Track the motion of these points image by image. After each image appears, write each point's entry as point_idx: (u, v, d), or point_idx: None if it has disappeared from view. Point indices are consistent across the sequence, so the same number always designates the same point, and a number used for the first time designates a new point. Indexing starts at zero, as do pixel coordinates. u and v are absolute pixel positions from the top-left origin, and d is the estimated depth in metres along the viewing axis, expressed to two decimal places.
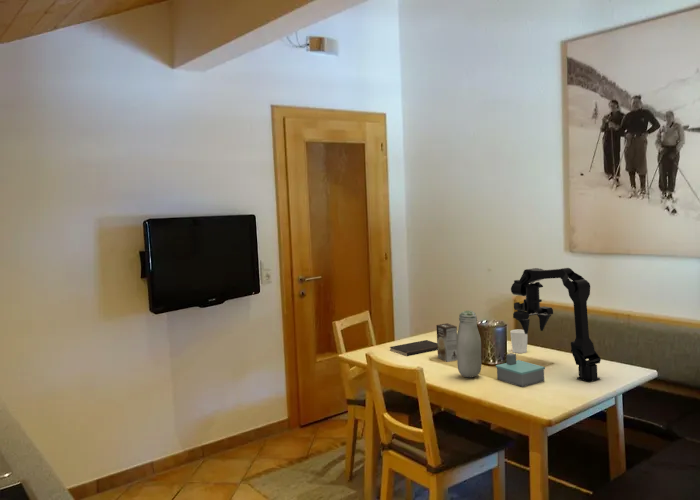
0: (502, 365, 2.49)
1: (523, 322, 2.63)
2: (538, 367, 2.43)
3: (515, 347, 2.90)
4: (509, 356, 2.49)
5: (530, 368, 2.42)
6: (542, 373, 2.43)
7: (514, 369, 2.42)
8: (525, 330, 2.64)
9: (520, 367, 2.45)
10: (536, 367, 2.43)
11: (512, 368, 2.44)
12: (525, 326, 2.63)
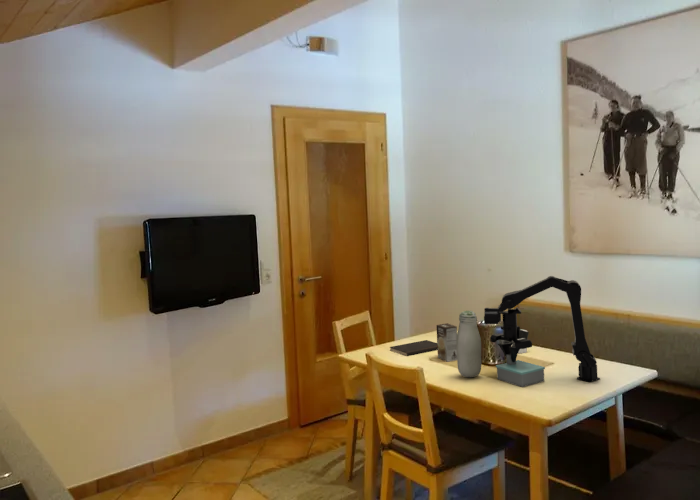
0: (502, 365, 2.49)
1: None
2: (538, 367, 2.43)
3: None
4: (509, 356, 2.49)
5: (530, 368, 2.42)
6: (542, 373, 2.43)
7: (514, 369, 2.42)
8: None
9: (520, 367, 2.45)
10: (536, 367, 2.43)
11: (512, 368, 2.44)
12: None
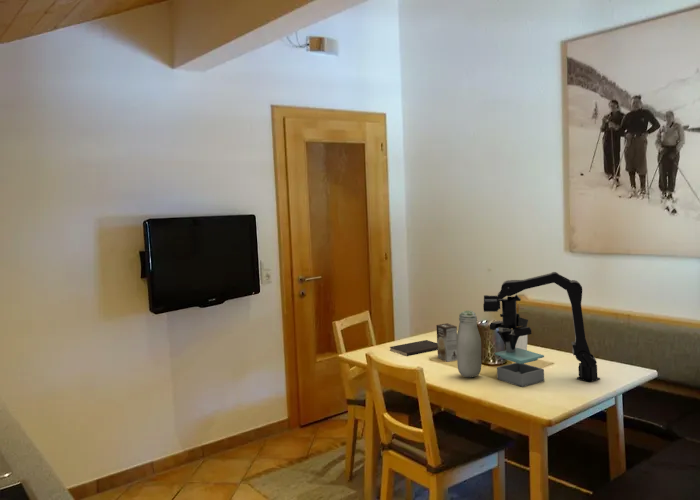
0: (501, 352, 2.49)
1: None
2: (537, 355, 2.43)
3: (515, 347, 2.90)
4: (508, 344, 2.49)
5: (530, 356, 2.42)
6: (542, 373, 2.43)
7: (513, 357, 2.42)
8: None
9: (519, 355, 2.44)
10: (535, 355, 2.43)
11: (511, 356, 2.44)
12: None
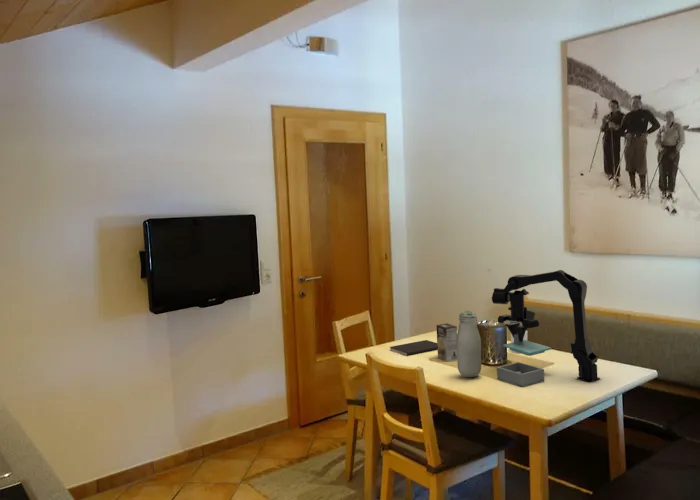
0: (509, 344, 2.57)
1: None
2: (545, 347, 2.52)
3: None
4: (517, 336, 2.58)
5: (537, 348, 2.51)
6: (542, 373, 2.43)
7: (522, 349, 2.51)
8: None
9: (527, 347, 2.53)
10: (543, 347, 2.52)
11: (520, 348, 2.52)
12: None
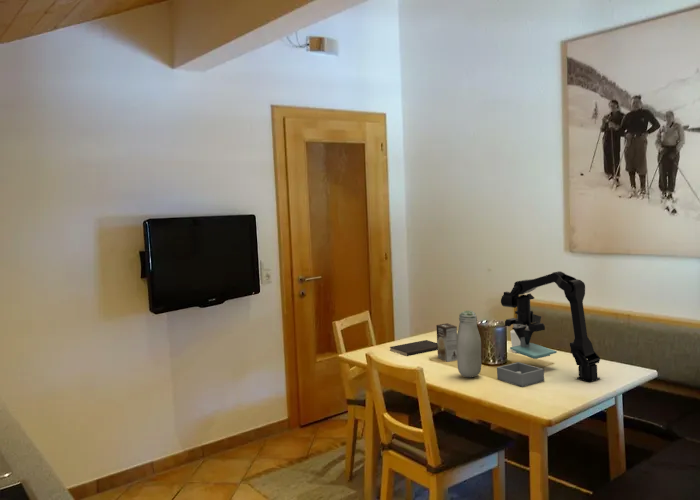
0: (516, 347, 2.65)
1: None
2: (550, 351, 2.59)
3: None
4: (523, 339, 2.65)
5: (543, 351, 2.59)
6: (542, 373, 2.43)
7: (528, 352, 2.58)
8: None
9: (533, 350, 2.61)
10: (548, 351, 2.59)
11: (526, 351, 2.60)
12: None
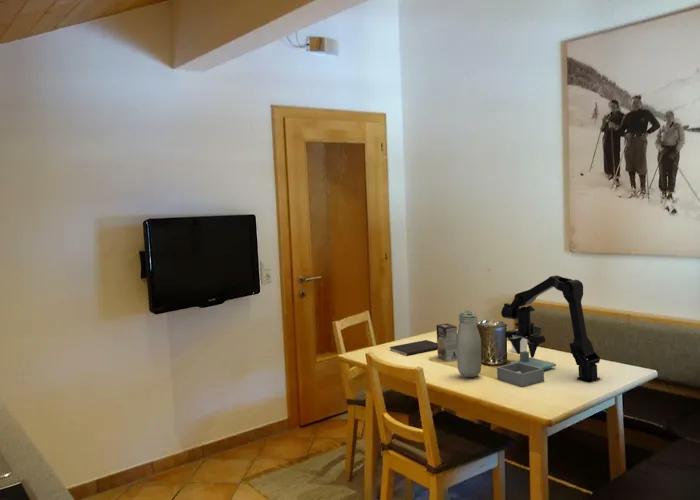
0: (516, 362, 2.66)
1: None
2: (550, 364, 2.60)
3: None
4: (522, 354, 2.66)
5: (543, 365, 2.59)
6: (542, 373, 2.43)
7: None
8: None
9: (533, 364, 2.61)
10: (548, 364, 2.60)
11: None
12: None
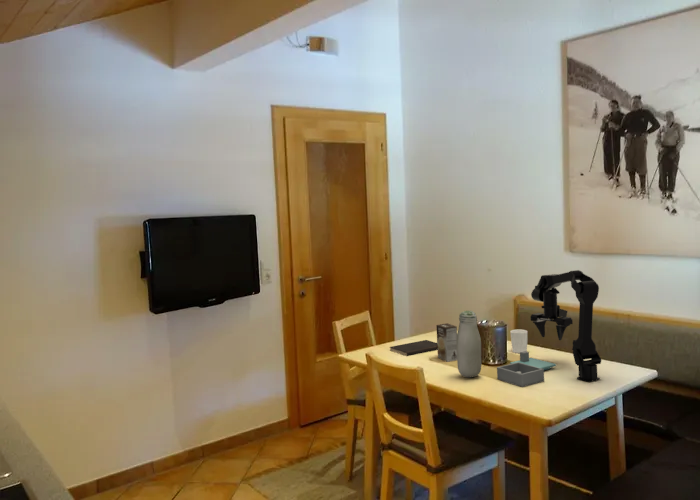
0: (516, 362, 2.66)
1: None
2: (550, 364, 2.60)
3: (515, 347, 2.90)
4: (522, 354, 2.66)
5: (543, 365, 2.59)
6: (542, 373, 2.43)
7: None
8: None
9: (533, 364, 2.61)
10: (548, 364, 2.60)
11: None
12: None
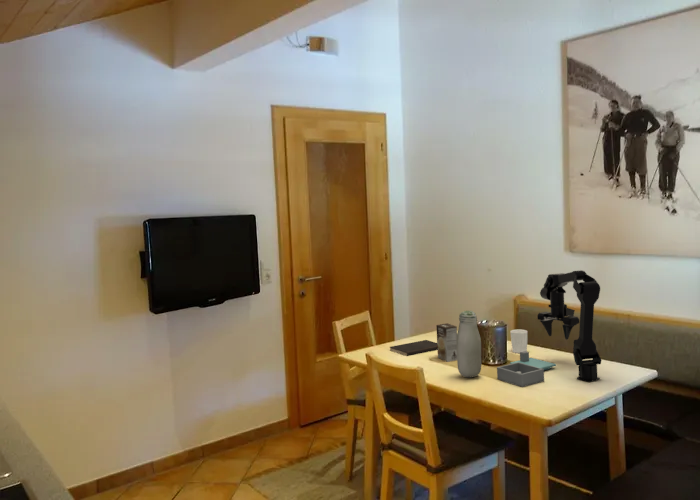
0: (516, 362, 2.66)
1: None
2: (550, 364, 2.60)
3: (515, 347, 2.90)
4: (522, 354, 2.66)
5: (543, 365, 2.59)
6: (542, 373, 2.43)
7: None
8: None
9: (533, 364, 2.61)
10: (548, 364, 2.60)
11: None
12: None
